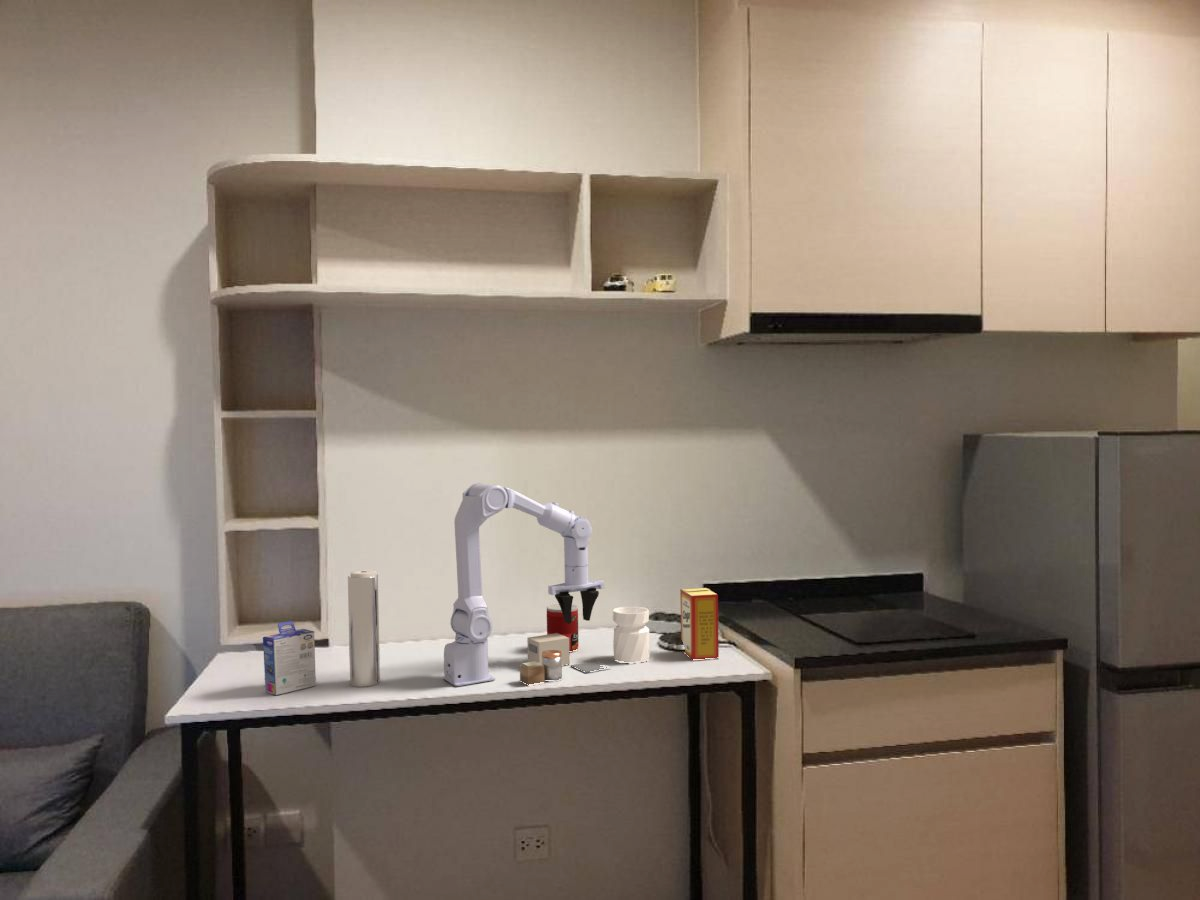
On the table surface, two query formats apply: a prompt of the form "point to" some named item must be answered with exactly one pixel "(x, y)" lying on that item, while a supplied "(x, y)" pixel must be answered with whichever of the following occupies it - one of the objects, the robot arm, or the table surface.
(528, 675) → the walnut block
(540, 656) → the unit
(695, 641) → the red and yellow box
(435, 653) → the table surface
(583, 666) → the pad
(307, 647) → the ink cartridge box
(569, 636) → the canned food
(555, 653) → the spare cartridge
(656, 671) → the table surface
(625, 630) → the white faceted vase
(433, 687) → the table surface
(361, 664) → the beige tall cylinder
